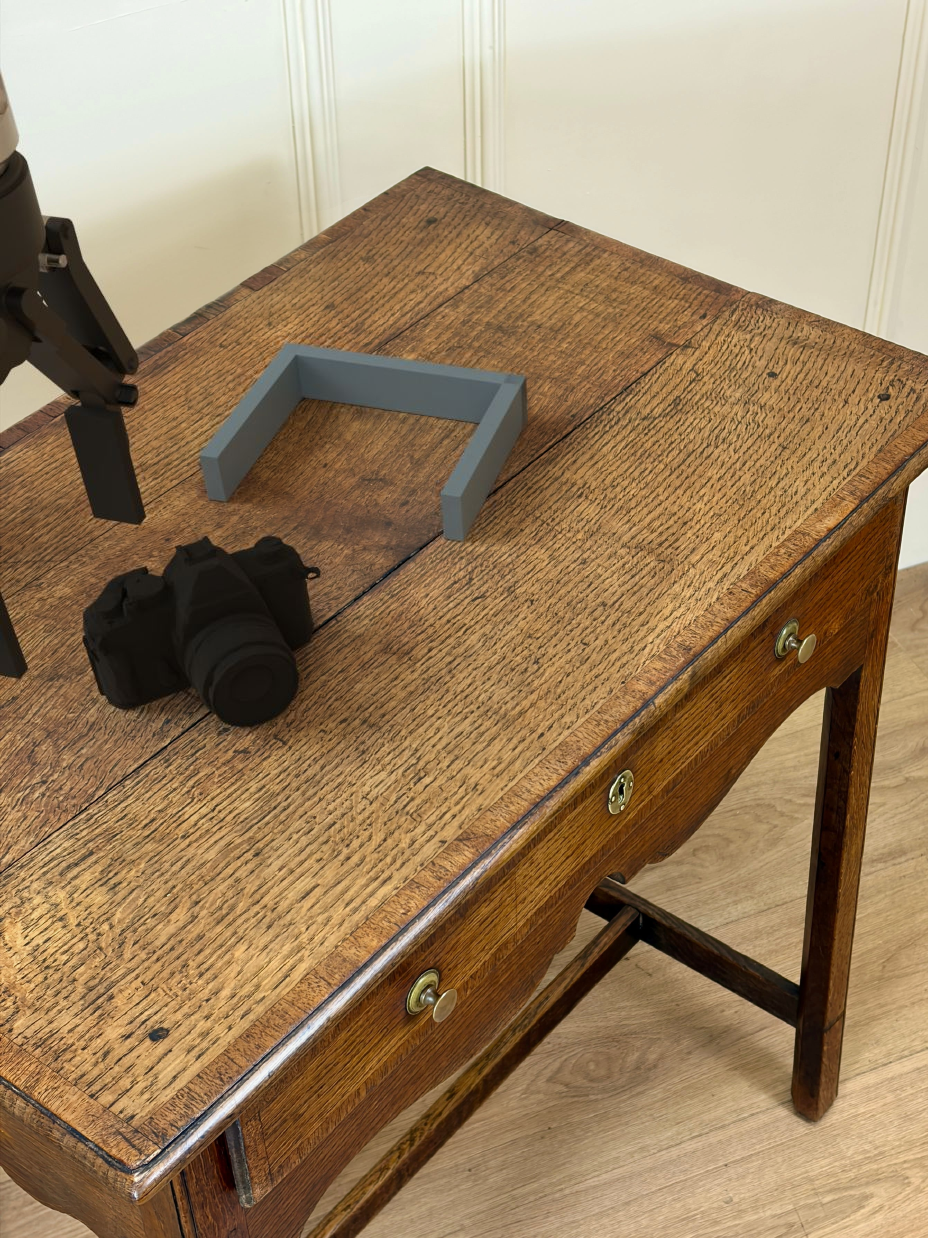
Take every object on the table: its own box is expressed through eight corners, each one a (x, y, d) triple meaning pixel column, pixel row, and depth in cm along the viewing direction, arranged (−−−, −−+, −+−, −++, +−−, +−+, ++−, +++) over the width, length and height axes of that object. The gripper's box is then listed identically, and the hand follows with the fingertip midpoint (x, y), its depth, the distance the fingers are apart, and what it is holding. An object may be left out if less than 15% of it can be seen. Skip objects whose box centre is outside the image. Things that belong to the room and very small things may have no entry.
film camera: (137, 777, 89) (104, 668, 82) (91, 681, 95) (57, 573, 89) (366, 690, 94) (351, 581, 87) (308, 605, 100) (290, 497, 93)
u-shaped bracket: (208, 499, 109) (198, 454, 106) (293, 385, 120) (286, 342, 117) (463, 542, 104) (460, 496, 101) (527, 419, 115) (526, 375, 112)
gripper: (-175, 328, 49) (4, 772, 64) (150, 60, 65) (231, 465, 80) (-360, 301, 51) (-143, 740, 66) (2, 46, 67) (108, 445, 82)
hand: (63, 589), depth 73 cm, fingers open, 11 cm apart
